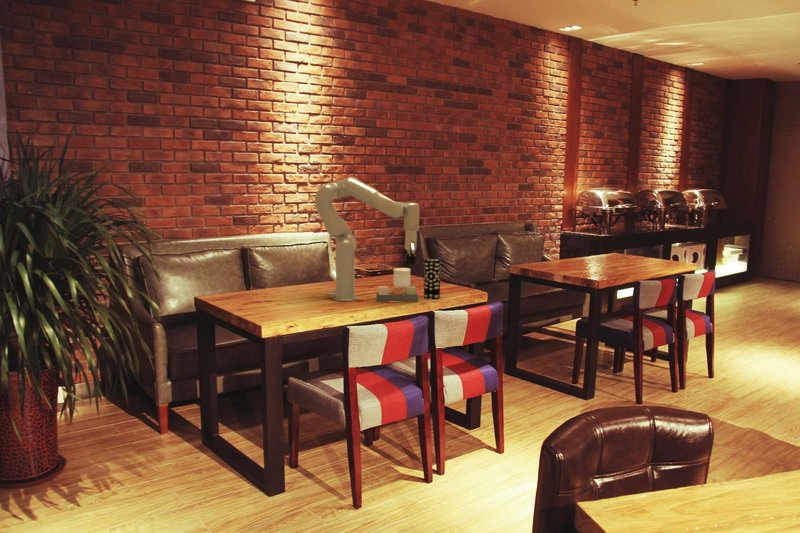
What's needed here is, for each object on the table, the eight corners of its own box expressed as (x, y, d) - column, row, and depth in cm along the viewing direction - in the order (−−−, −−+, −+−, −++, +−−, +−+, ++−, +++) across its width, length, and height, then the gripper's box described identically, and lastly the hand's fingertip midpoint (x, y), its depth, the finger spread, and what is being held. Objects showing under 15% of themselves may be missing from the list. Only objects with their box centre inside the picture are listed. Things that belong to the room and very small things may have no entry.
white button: (378, 297, 325) (378, 288, 324) (378, 296, 330) (378, 286, 329) (388, 297, 326) (388, 288, 325) (387, 295, 330) (387, 286, 329)
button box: (376, 302, 324) (377, 295, 324) (376, 299, 331) (376, 292, 330) (417, 301, 326) (418, 295, 326) (416, 299, 333) (416, 292, 333)
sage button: (406, 297, 327) (406, 287, 326) (405, 295, 331) (405, 286, 330) (415, 297, 327) (415, 287, 326) (414, 295, 332) (414, 286, 331)
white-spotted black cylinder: (438, 299, 332) (439, 261, 329) (422, 299, 333) (423, 260, 330) (440, 296, 340) (441, 259, 337) (425, 295, 341) (425, 258, 338)
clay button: (392, 297, 326) (392, 288, 325) (391, 295, 330) (391, 286, 330) (402, 297, 326) (402, 287, 326) (401, 295, 331) (401, 286, 330)
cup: (391, 286, 365) (391, 269, 364) (396, 283, 375) (396, 267, 373) (407, 288, 363) (407, 270, 361) (412, 284, 372) (412, 268, 371)
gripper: (402, 225, 332) (401, 260, 334) (406, 229, 315) (405, 265, 318) (416, 225, 332) (416, 260, 335) (421, 229, 316) (420, 265, 318)
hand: (411, 262), depth 326 cm, fingers open, 5 cm apart
